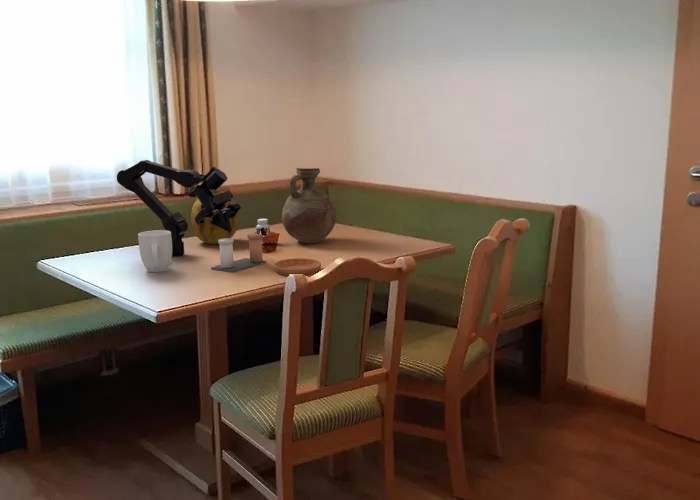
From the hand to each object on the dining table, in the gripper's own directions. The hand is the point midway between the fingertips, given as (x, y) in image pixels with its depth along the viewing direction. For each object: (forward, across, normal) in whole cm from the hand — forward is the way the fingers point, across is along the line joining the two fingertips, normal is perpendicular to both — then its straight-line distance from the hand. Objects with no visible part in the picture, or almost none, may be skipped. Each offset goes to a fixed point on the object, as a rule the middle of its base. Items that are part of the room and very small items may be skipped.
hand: (230, 231), depth 264 cm
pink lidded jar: (+16, 0, -1) cm, 16 cm away
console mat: (+14, -5, +1) cm, 15 cm away
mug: (0, -25, +15) cm, 30 cm away
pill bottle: (0, +28, +15) cm, 32 cm away
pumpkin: (-12, +19, +27) cm, 36 cm away
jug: (+11, +39, +4) cm, 41 cm away
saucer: (+30, 0, -14) cm, 33 cm away
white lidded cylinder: (+14, -11, +1) cm, 17 cm away
